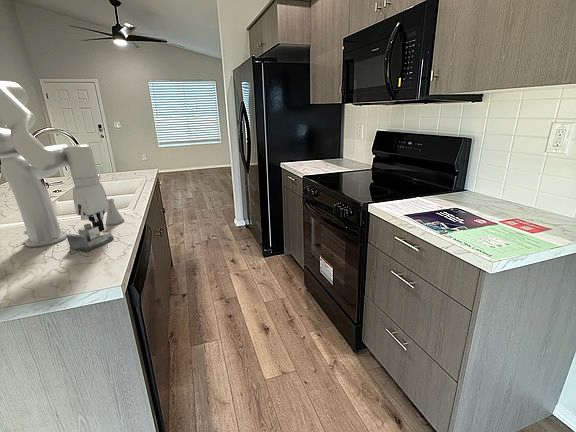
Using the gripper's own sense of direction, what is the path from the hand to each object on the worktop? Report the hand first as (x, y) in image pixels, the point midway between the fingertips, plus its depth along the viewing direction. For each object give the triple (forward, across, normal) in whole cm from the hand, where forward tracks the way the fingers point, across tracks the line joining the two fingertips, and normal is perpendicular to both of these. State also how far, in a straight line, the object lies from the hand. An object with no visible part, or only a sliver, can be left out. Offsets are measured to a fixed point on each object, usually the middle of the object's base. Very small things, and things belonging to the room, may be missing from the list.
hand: (99, 230), depth 113 cm
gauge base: (+4, +4, 0) cm, 5 cm away
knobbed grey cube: (+2, +4, +1) cm, 5 cm away
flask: (+4, -16, -10) cm, 19 cm away
